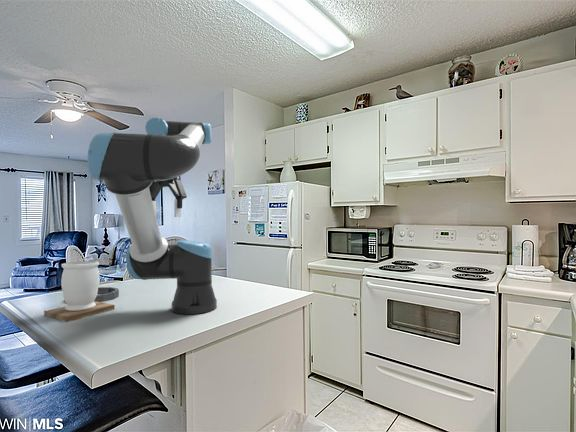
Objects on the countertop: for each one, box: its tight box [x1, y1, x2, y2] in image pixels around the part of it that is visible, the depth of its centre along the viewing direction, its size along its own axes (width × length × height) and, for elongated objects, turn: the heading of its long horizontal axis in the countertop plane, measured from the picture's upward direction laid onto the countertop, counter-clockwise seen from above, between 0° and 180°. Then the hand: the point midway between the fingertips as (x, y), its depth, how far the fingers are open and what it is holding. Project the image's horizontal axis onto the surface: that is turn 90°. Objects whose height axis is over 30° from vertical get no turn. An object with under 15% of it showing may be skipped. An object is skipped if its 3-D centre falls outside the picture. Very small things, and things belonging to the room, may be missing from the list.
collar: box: [94, 286, 120, 303], centre depth 125 cm, size 16×16×2 cm
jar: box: [60, 260, 100, 311], centre depth 106 cm, size 11×10×15 cm
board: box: [43, 301, 116, 323], centre depth 106 cm, size 13×15×2 cm
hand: (164, 217), depth 125 cm, fingers open, 13 cm apart
